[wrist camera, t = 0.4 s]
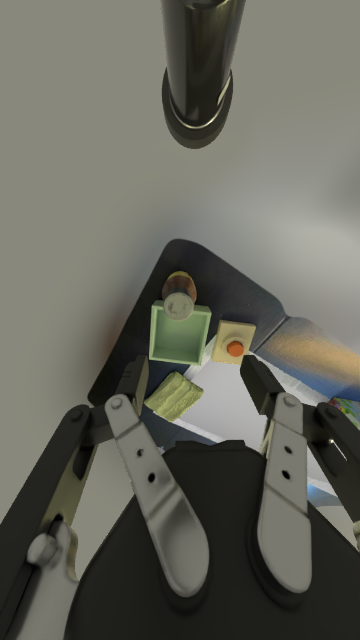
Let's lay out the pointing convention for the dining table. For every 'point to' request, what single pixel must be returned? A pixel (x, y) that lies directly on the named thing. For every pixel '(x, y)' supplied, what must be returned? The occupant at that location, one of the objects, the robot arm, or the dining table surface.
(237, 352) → the button
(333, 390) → the dining table surface
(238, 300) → the dining table surface
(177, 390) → the washcloth
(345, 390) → the dining table surface
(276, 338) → the dining table surface
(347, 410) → the snack box
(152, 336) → the sage green tray
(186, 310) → the sauce bottle
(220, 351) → the panel
